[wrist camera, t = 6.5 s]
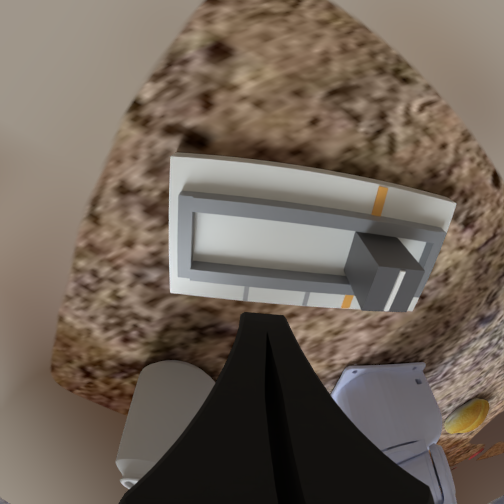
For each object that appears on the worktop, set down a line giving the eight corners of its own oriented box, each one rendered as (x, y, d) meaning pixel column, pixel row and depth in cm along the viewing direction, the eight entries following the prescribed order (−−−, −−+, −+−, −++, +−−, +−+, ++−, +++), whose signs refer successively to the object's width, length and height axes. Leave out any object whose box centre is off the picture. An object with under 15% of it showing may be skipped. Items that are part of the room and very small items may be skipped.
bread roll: (469, 394, 32) (479, 414, 28) (490, 396, 34) (498, 413, 30) (433, 425, 36) (440, 444, 32) (457, 424, 37) (464, 440, 34)
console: (447, 197, 17) (464, 209, 15) (406, 301, 22) (417, 319, 20) (175, 152, 16) (165, 160, 14) (173, 282, 20) (166, 301, 19)
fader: (396, 237, 17) (425, 272, 14) (383, 274, 19) (406, 313, 15) (355, 231, 17) (379, 267, 14) (343, 270, 19) (362, 311, 15)
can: (130, 377, 26) (100, 482, 16) (164, 341, 23) (131, 473, 13) (192, 407, 29) (180, 507, 18) (234, 378, 26) (230, 500, 15)
